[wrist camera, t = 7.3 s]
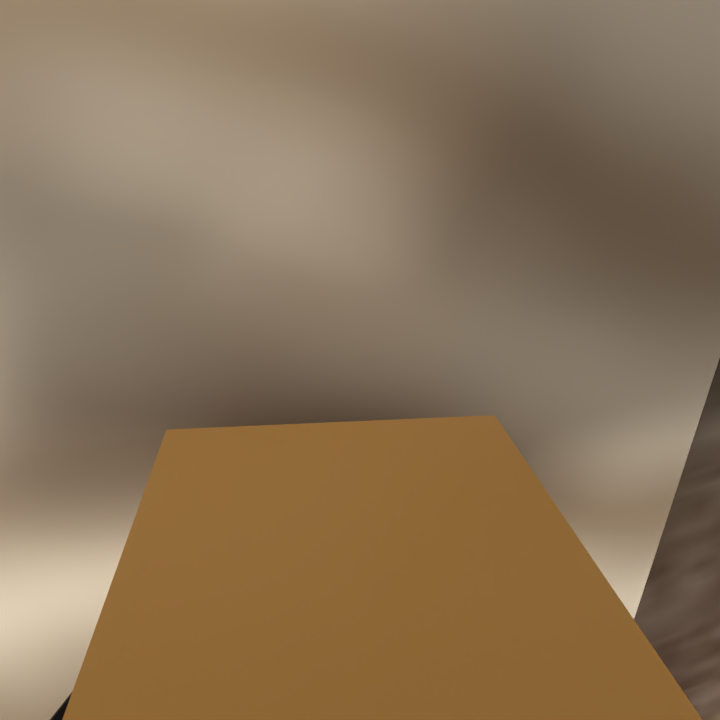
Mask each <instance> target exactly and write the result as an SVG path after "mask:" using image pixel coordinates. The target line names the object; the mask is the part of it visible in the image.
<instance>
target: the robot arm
mask: <svg viewBox="0 0 720 720" xmlns="http://www.w3.org/2000/svg"><path fill="white" fill-rule="evenodd" d="M71 694H72V692H71ZM71 694H70V695H69V696H68V697H67V699H66V700H65V701H64V702H63V704H62V705H61V706H60V707H59V709H58V710H57V711H56V712H55V714H54V715H53V716H52V717H51V719H50V720H62V719H63V716H64V714H65V711H66V708H67V705H68V702H69V700H70V697H71Z"/></svg>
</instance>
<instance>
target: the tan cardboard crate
mask: <svg viewBox="0 0 720 720" xmlns="http://www.w3.org/2000/svg"><path fill="white" fill-rule="evenodd" d="M62 720H702V719H701V717H700V716H699V714H698V713H697V711H696V710H695V708H694V707H693V706H692V704H691V703H690V701H689V700H688V698H687V697H686V695H685V694H684V692H683V691H682V689H681V688H680V686H679V685H678V683H677V682H676V681H675V679H674V678H673V676H672V675H671V673H670V672H669V670H668V669H667V667H666V666H665V664H664V663H663V661H662V660H661V659H660V657H659V656H658V654H657V653H656V651H655V650H654V648H653V647H652V645H651V644H650V642H649V641H648V639H647V638H646V637H645V635H644V634H643V632H642V631H641V629H640V628H639V626H638V625H637V623H636V622H635V620H634V619H633V617H632V616H631V615H630V613H629V612H628V610H627V609H626V607H625V606H624V604H623V603H622V601H621V600H620V598H619V597H618V595H617V594H616V593H615V591H614V590H613V588H612V587H611V585H610V584H609V582H608V581H607V579H606V578H605V576H604V575H603V573H602V572H601V571H600V569H599V568H598V566H597V565H596V563H595V562H594V560H593V559H592V557H591V556H590V554H589V553H588V551H587V550H586V548H585V547H584V546H583V544H582V543H581V541H580V540H579V538H578V537H577V535H576V534H575V532H574V531H573V529H572V528H571V526H570V525H569V524H568V522H567V521H566V519H565V518H564V516H563V515H562V513H561V512H560V510H559V509H558V507H557V506H556V504H555V503H554V502H553V500H552V499H551V497H550V496H549V494H548V493H547V491H546V490H545V488H544V487H543V485H542V484H541V482H540V481H539V480H538V478H537V477H536V475H535V474H534V472H533V471H532V469H531V468H530V466H529V465H528V463H527V462H526V460H525V459H524V458H523V456H522V455H521V453H520V452H519V450H518V449H517V447H516V446H515V444H514V443H513V441H512V440H511V438H510V437H509V435H508V434H507V433H506V431H505V430H504V428H503V427H502V425H501V424H500V422H499V421H498V419H497V418H496V416H495V415H485V416H463V417H440V418H417V419H395V420H372V421H350V422H327V423H304V424H282V425H259V426H237V427H214V428H191V429H169V430H166V432H165V435H164V437H163V440H162V443H161V446H160V449H159V451H158V454H157V457H156V460H155V463H154V465H153V468H152V471H151V474H150V476H149V479H148V482H147V485H146V488H145V490H144V493H143V496H142V499H141V502H140V504H139V507H138V510H137V513H136V516H135V518H134V521H133V524H132V527H131V529H130V532H129V535H128V538H127V541H126V543H125V546H124V549H123V552H122V555H121V557H120V560H119V563H118V566H117V569H116V571H115V574H114V577H113V580H112V583H111V585H110V588H109V591H108V594H107V596H106V599H105V602H104V605H103V608H102V610H101V613H100V616H99V619H98V622H97V624H96V627H95V630H94V633H93V636H92V638H91V641H90V644H89V647H88V649H87V652H86V655H85V658H84V661H83V663H82V666H81V669H80V672H79V675H78V677H77V680H76V683H75V686H74V689H73V691H72V694H71V697H70V700H69V702H68V705H67V708H66V711H65V714H64V716H63V719H62Z"/></svg>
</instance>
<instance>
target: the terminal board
mask: <svg viewBox="0 0 720 720" xmlns="http://www.w3.org/2000/svg"><path fill="white" fill-rule="evenodd" d="M719 359H720V0H0V720H50V719H51V717H52V716H53V715H54V714H55V712H56V711H57V710H58V709H59V707H60V706H61V705H62V704H63V702H64V701H65V700H66V699H67V697H68V696H69V695H70V694H71V692H72V691H73V689H74V686H75V683H76V680H77V677H78V675H79V672H80V669H81V666H82V663H83V661H84V658H85V655H86V652H87V649H88V647H89V644H90V641H91V638H92V636H93V633H94V630H95V627H96V624H97V622H98V619H99V616H100V613H101V610H102V608H103V605H104V602H105V599H106V596H107V594H108V591H109V588H110V585H111V583H112V580H113V577H114V574H115V571H116V569H117V566H118V563H119V560H120V557H121V555H122V552H123V549H124V546H125V543H126V541H127V538H128V535H129V532H130V529H131V527H132V524H133V521H134V518H135V516H136V513H137V510H138V507H139V504H140V502H141V499H142V496H143V493H144V490H145V488H146V485H147V482H148V479H149V476H150V474H151V471H152V468H153V465H154V463H155V460H156V457H157V454H158V451H159V449H160V446H161V443H162V440H163V437H164V435H165V432H166V430H169V429H191V428H214V427H237V426H259V425H282V424H304V423H327V422H350V421H372V420H395V419H417V418H440V417H463V416H485V415H495V416H496V418H497V419H498V421H499V422H500V424H501V425H502V427H503V428H504V430H505V431H506V433H507V434H508V435H509V437H510V438H511V440H512V441H513V443H514V444H515V446H516V447H517V449H518V450H519V452H520V453H521V455H522V456H523V458H524V459H525V460H526V462H527V463H528V465H529V466H530V468H531V469H532V471H533V472H534V474H535V475H536V477H537V478H538V480H539V481H540V482H541V484H542V485H543V487H544V488H545V490H546V491H547V493H548V494H549V496H550V497H551V499H552V500H553V502H554V503H555V504H556V506H557V507H558V509H559V510H560V512H561V513H562V515H563V516H564V518H565V519H566V521H567V522H568V524H569V525H570V526H571V528H572V529H573V531H574V532H575V534H576V535H577V537H578V538H579V540H580V541H581V543H582V544H583V546H584V547H585V548H586V550H587V551H588V553H589V554H590V556H591V557H592V559H593V560H594V562H595V563H596V565H597V566H598V568H599V569H600V571H601V572H602V573H603V575H604V576H605V578H606V579H607V581H608V582H609V584H610V585H611V587H612V588H613V590H614V591H615V593H616V594H617V595H618V597H619V598H620V600H621V601H622V603H623V604H624V606H625V607H626V609H627V610H628V612H629V613H630V615H631V616H632V617H633V619H634V618H635V615H636V612H637V608H638V605H639V602H640V599H641V596H642V593H643V590H644V587H645V584H646V581H647V578H648V575H649V572H650V569H651V566H652V563H653V560H654V557H655V554H656V551H657V548H658V544H659V541H660V538H661V535H662V532H663V529H664V526H665V523H666V520H667V517H668V514H669V511H670V508H671V505H672V502H673V499H674V496H675V493H676V490H677V487H678V484H679V480H680V477H681V474H682V471H683V468H684V465H685V462H686V459H687V456H688V453H689V450H690V447H691V444H692V441H693V438H694V435H695V432H696V429H697V426H698V423H699V419H700V416H701V413H702V410H703V407H704V404H705V401H706V398H707V395H708V392H709V389H710V386H711V383H712V380H713V377H714V374H715V371H716V368H717V365H718V362H719Z"/></svg>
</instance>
